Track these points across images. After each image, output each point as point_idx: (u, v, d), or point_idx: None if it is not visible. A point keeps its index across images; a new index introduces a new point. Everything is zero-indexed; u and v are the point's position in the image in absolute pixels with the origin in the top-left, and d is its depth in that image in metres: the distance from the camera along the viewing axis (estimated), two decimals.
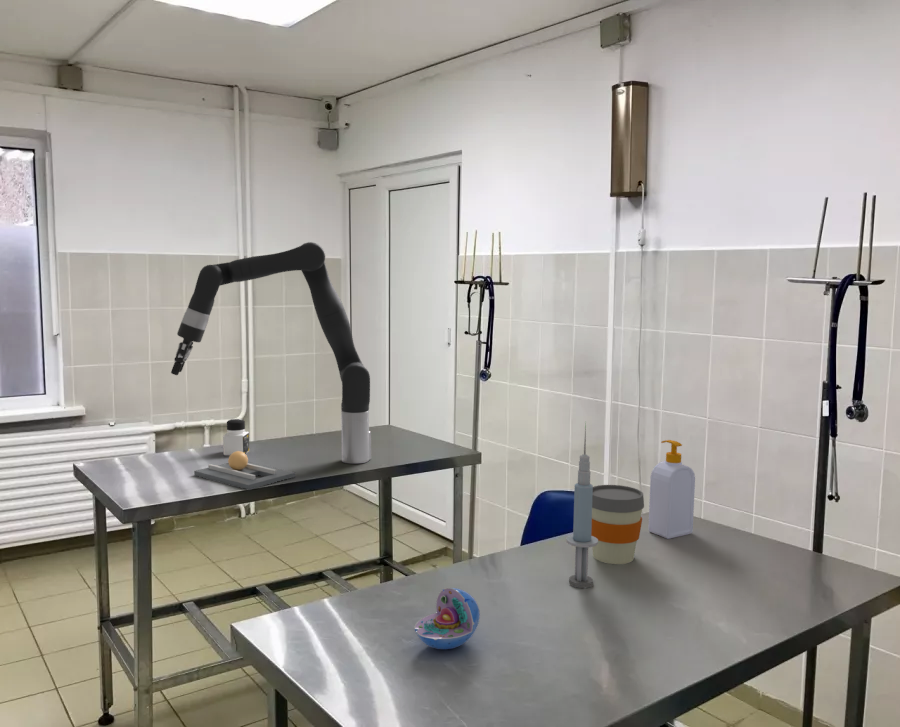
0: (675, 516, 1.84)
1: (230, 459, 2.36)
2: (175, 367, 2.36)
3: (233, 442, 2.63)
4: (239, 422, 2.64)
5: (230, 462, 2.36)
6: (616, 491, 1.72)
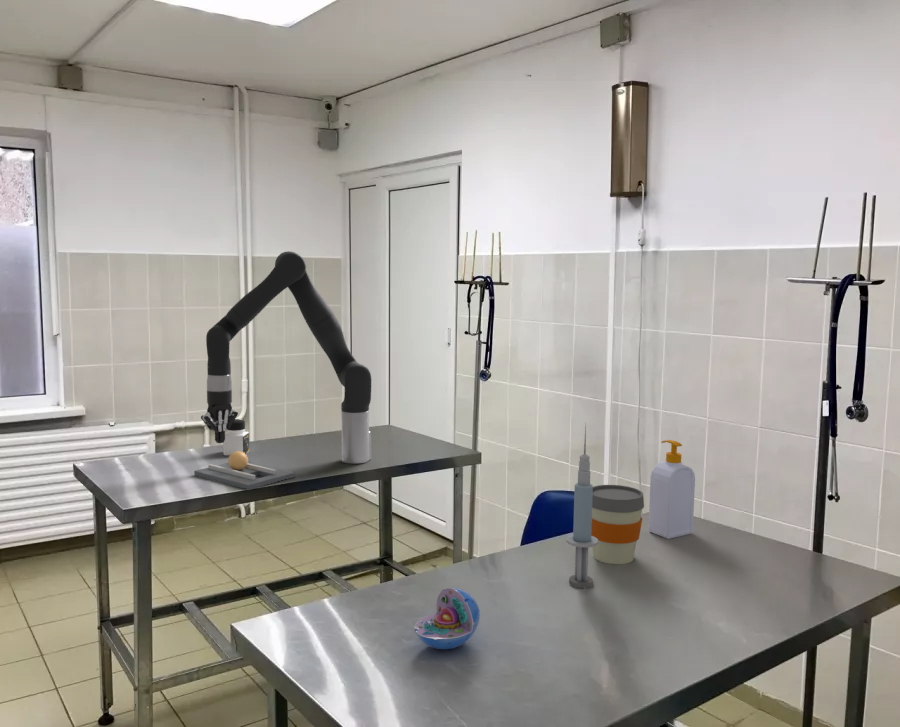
0: (675, 516, 1.84)
1: (230, 459, 2.36)
2: (215, 436, 2.41)
3: (233, 442, 2.63)
4: (239, 422, 2.64)
5: (230, 462, 2.36)
6: (616, 491, 1.72)
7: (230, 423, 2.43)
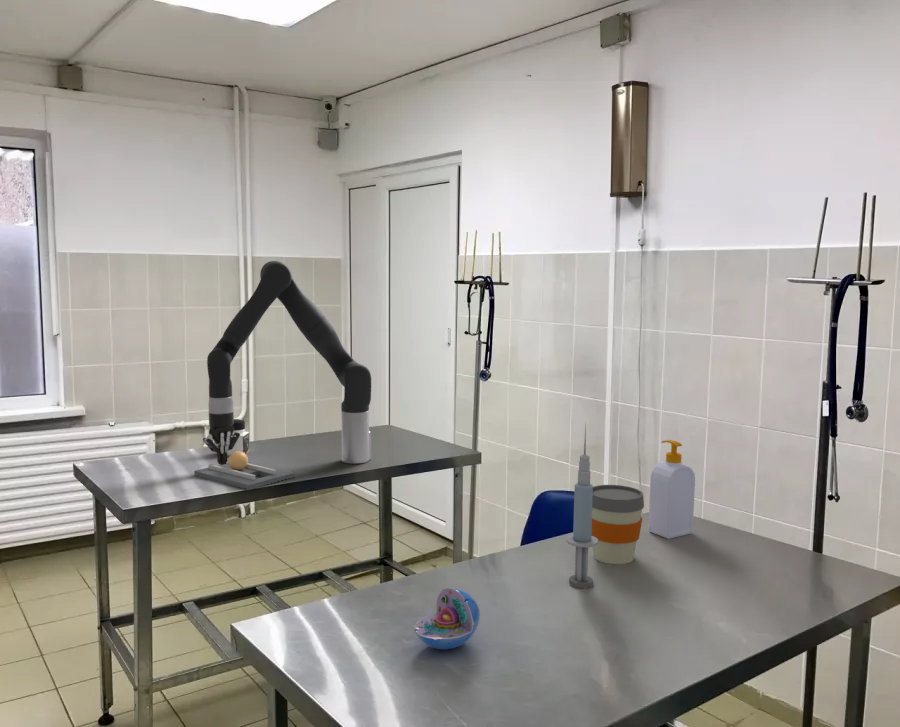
0: (675, 516, 1.84)
1: (230, 459, 2.36)
2: (218, 457, 2.42)
3: None
4: (239, 422, 2.64)
5: (230, 462, 2.36)
6: (616, 491, 1.72)
7: (232, 444, 2.44)
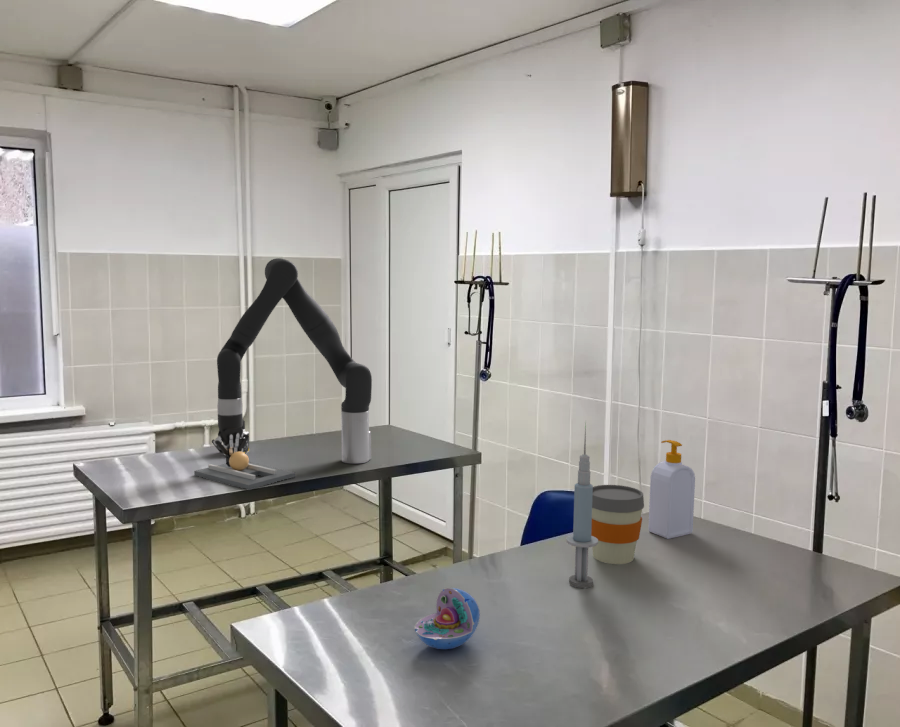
0: (675, 516, 1.84)
1: (231, 460, 2.35)
2: (226, 459, 2.39)
3: None
4: None
5: (231, 463, 2.35)
6: (616, 491, 1.72)
7: (241, 446, 2.42)
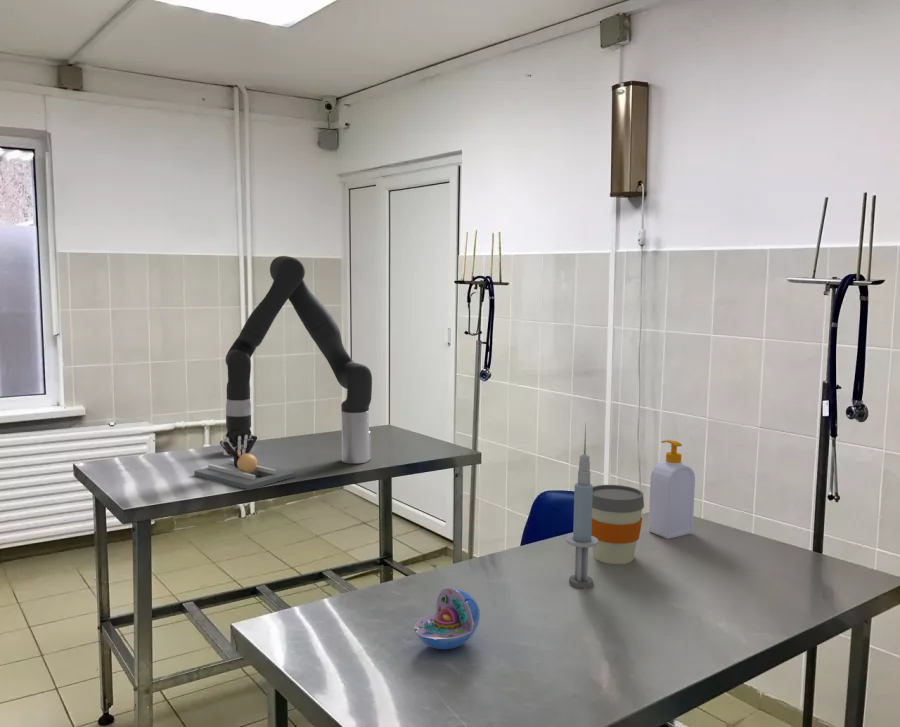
0: (675, 516, 1.84)
1: (241, 464, 2.32)
2: (234, 461, 2.36)
3: None
4: None
5: (239, 465, 2.33)
6: (616, 491, 1.72)
7: (249, 448, 2.39)
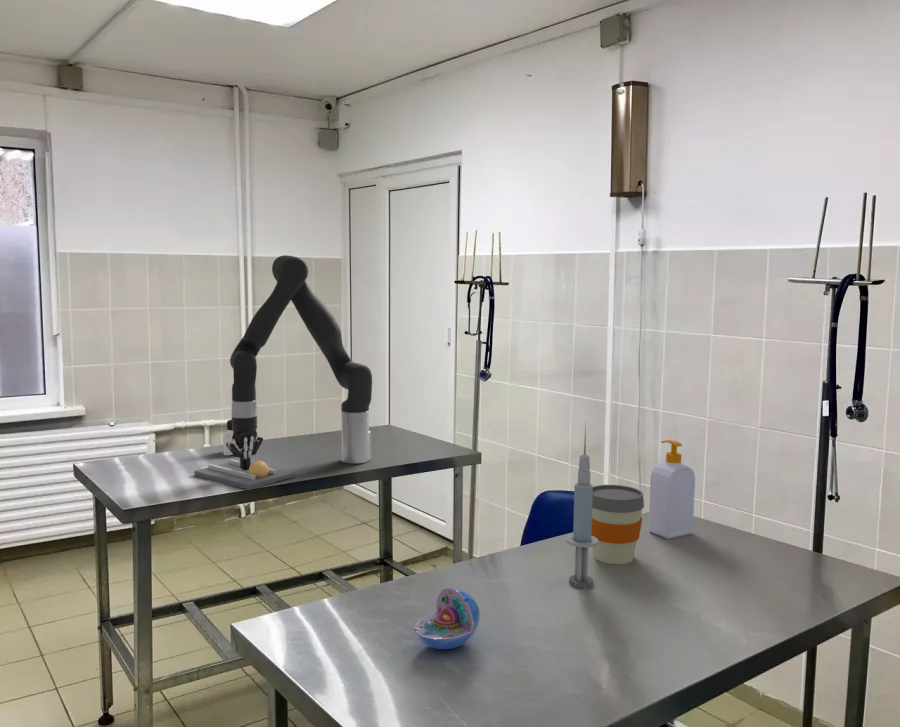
0: (675, 516, 1.84)
1: None
2: (241, 463, 2.35)
3: None
4: None
5: (250, 471, 2.30)
6: (616, 491, 1.72)
7: (255, 449, 2.37)
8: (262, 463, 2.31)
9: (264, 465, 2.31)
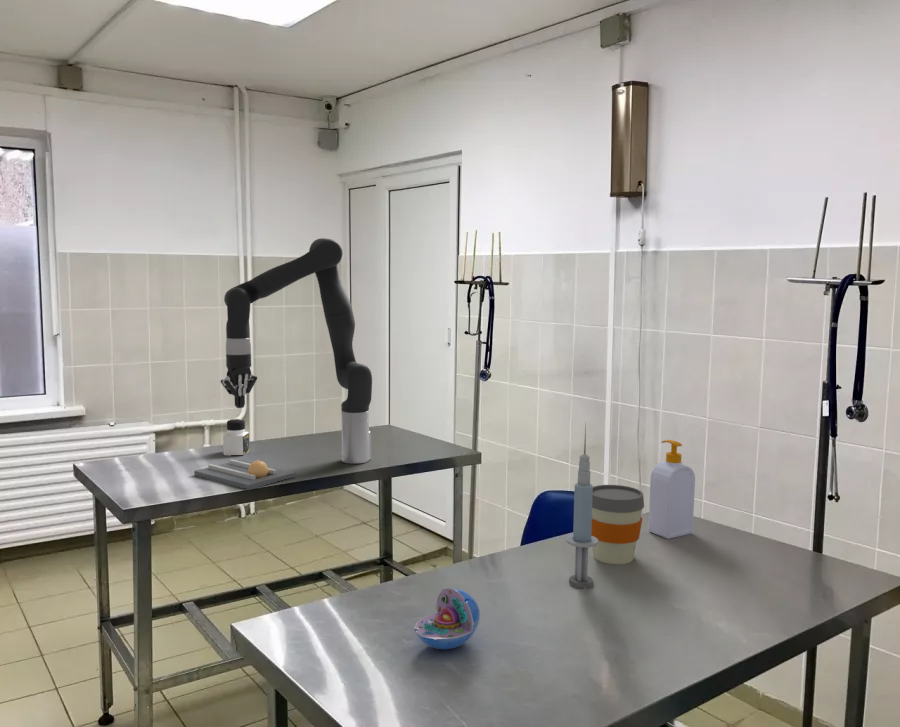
0: (675, 516, 1.84)
1: None
2: (235, 400, 2.37)
3: (233, 442, 2.63)
4: (239, 422, 2.64)
5: (250, 471, 2.30)
6: (616, 491, 1.72)
7: (250, 388, 2.39)
8: (261, 462, 2.31)
9: (263, 464, 2.31)
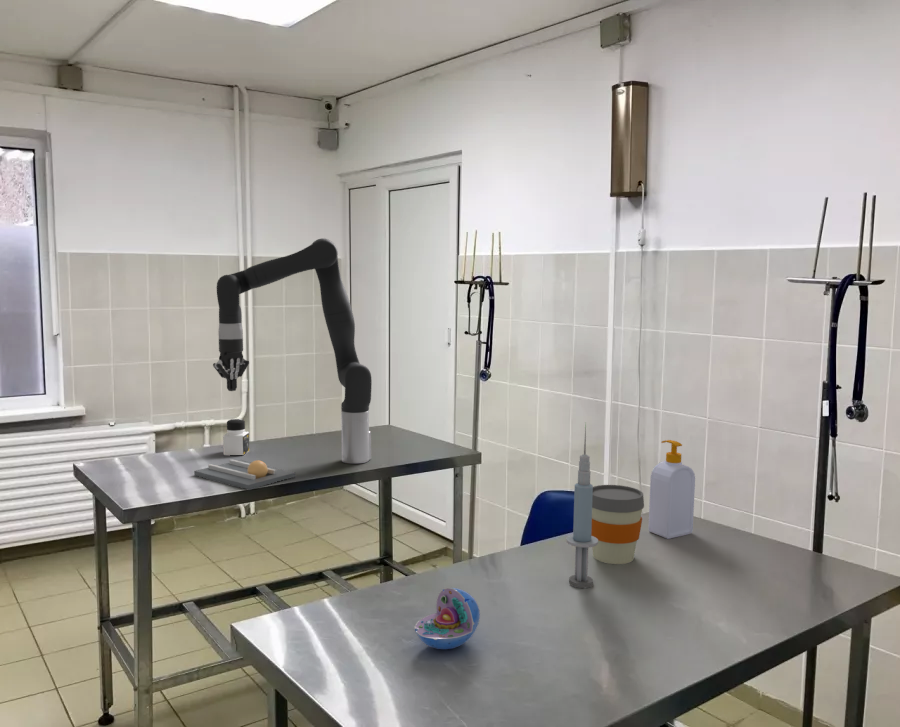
0: (675, 516, 1.84)
1: (250, 473, 2.30)
2: (227, 384, 2.45)
3: (233, 442, 2.63)
4: (239, 422, 2.64)
5: (249, 471, 2.30)
6: (616, 491, 1.72)
7: (242, 372, 2.47)
8: (260, 461, 2.32)
9: (262, 463, 2.32)
